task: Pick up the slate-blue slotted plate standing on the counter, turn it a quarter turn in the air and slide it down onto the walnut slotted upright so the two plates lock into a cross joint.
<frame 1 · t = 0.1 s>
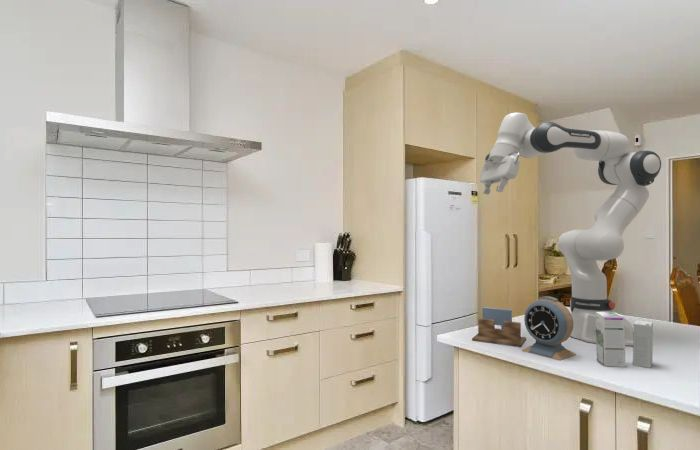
hand: (492, 192, 145), 52 cm above the counter, tool tilted 20°, fingers open, 8 cm apart
blue slotted plate: (497, 332, 155), on the counter
alarm clock: (548, 353, 129), on the counter
syrup box: (610, 364, 119), on the counter
skincare box: (643, 365, 118), on the counter
walnut joint base: (499, 340, 145), on the counter
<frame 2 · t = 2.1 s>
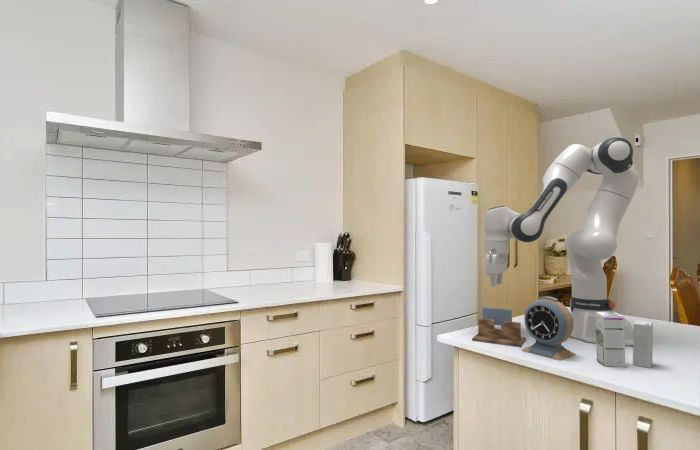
hand: (496, 285, 156), 18 cm above the counter, tool pointing down, fingers open, 8 cm apart
nothing on the counter moved.
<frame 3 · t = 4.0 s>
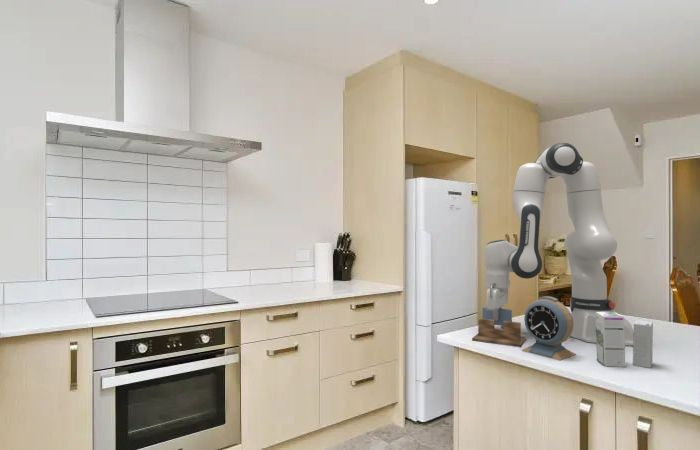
hand: (497, 319, 156), 5 cm above the counter, tool pointing down, fingers closed on blue slotted plate, 2 cm apart
blue slotted plate: (497, 332, 155), on the counter, touching gripper
everything else where it was.
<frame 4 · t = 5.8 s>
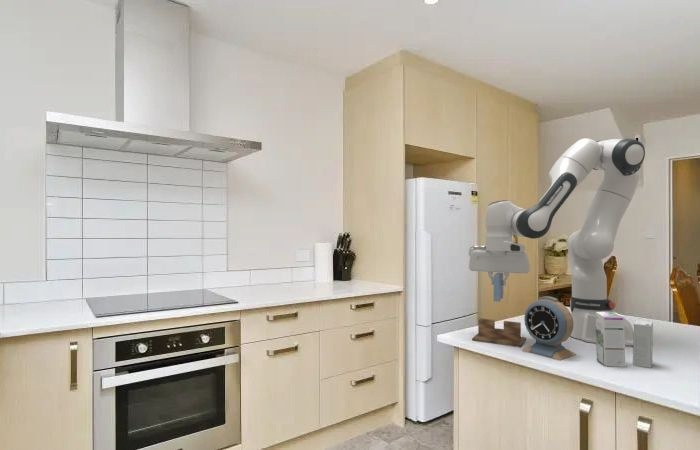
hand: (498, 284, 145), 19 cm above the counter, tool pointing down, fingers closed on blue slotted plate
blue slotted plate: (498, 299, 145), point 14 cm above the counter, touching gripper
everything else where it was.
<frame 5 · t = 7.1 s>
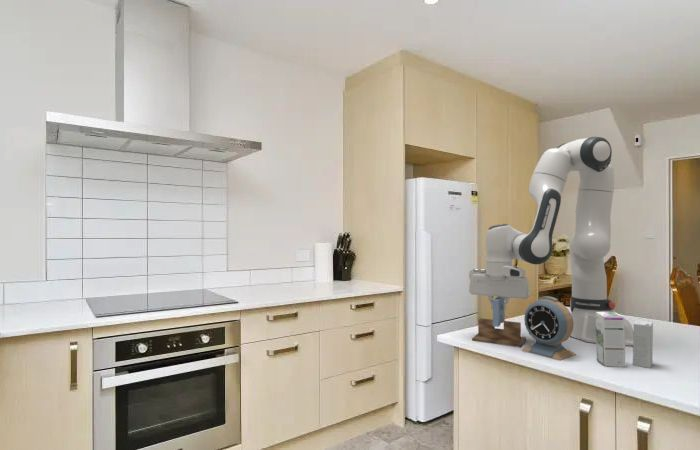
hand: (498, 309, 145), 11 cm above the counter, tool pointing down, fingers closed on blue slotted plate
blue slotted plate: (498, 323, 145), point 6 cm above the counter, touching gripper
everything else where it was.
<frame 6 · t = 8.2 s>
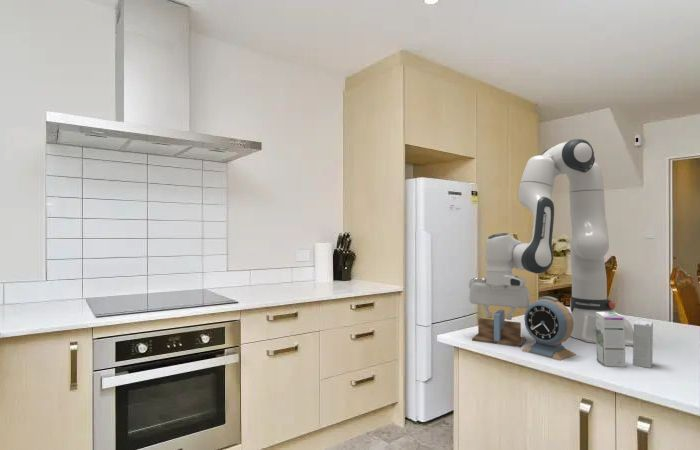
hand: (499, 318, 145), 8 cm above the counter, tool pointing down, fingers open, 5 cm apart
blue slotted plate: (499, 337, 145), point 1 cm above the counter, touching walnut joint base
everything else where it was.
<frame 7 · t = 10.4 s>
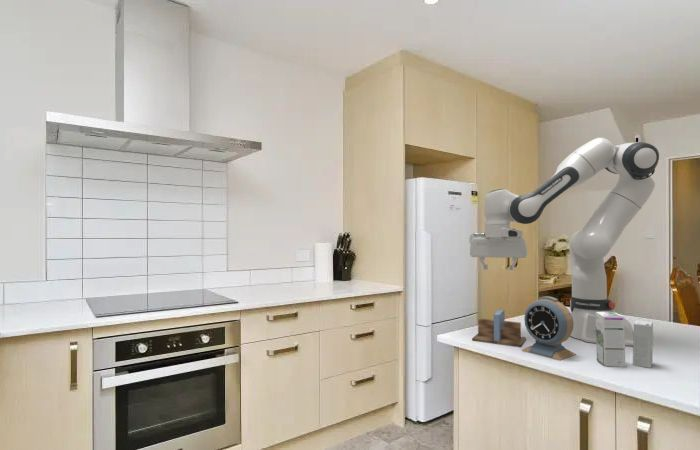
hand: (498, 269, 153), 24 cm above the counter, tool pointing down, fingers open, 8 cm apart
nothing on the counter moved.
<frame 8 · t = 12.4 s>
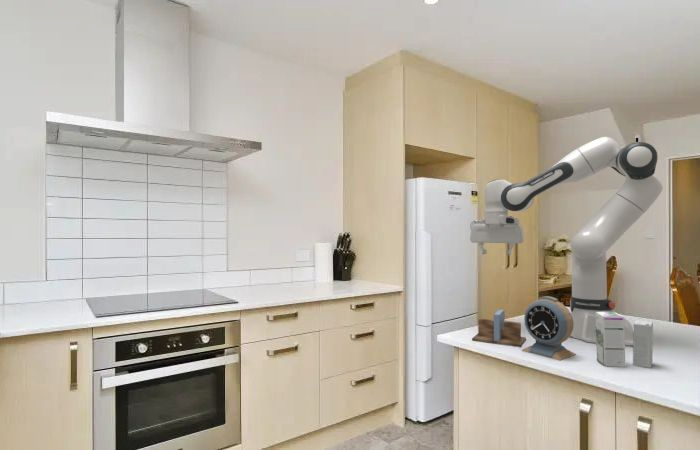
hand: (496, 254, 165), 29 cm above the counter, tool pointing down, fingers open, 8 cm apart
nothing on the counter moved.
at the end: blue slotted plate 0.2 cm off-centre on the walnut joint base, point 0.8 cm above the walnut joint base's base; blue slotted plate tilted 0°; the gripper is holding nothing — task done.
